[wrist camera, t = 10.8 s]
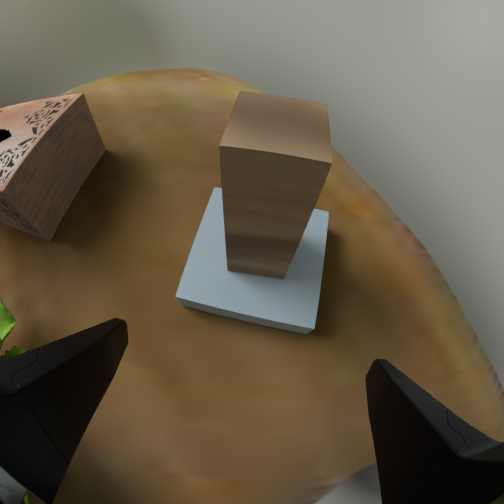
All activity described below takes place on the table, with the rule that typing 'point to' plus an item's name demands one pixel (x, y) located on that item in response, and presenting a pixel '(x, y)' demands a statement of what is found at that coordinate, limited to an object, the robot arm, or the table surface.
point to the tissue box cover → (45, 160)
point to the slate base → (254, 277)
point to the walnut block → (271, 179)
